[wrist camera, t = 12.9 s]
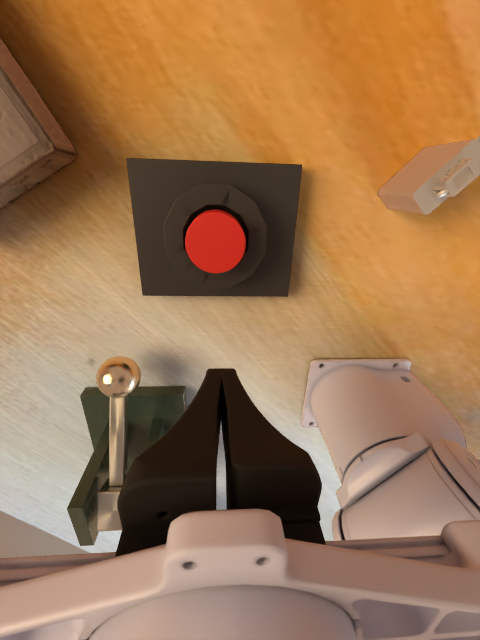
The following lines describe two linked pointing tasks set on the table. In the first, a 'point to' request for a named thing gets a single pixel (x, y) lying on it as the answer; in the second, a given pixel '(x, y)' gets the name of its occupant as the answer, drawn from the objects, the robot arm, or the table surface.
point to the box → (26, 134)
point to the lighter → (432, 177)
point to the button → (215, 241)
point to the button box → (208, 194)
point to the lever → (115, 434)
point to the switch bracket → (143, 431)
